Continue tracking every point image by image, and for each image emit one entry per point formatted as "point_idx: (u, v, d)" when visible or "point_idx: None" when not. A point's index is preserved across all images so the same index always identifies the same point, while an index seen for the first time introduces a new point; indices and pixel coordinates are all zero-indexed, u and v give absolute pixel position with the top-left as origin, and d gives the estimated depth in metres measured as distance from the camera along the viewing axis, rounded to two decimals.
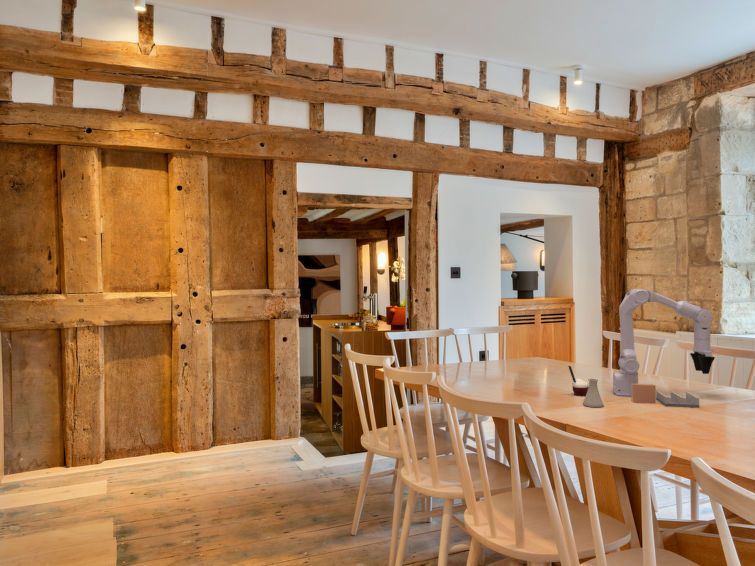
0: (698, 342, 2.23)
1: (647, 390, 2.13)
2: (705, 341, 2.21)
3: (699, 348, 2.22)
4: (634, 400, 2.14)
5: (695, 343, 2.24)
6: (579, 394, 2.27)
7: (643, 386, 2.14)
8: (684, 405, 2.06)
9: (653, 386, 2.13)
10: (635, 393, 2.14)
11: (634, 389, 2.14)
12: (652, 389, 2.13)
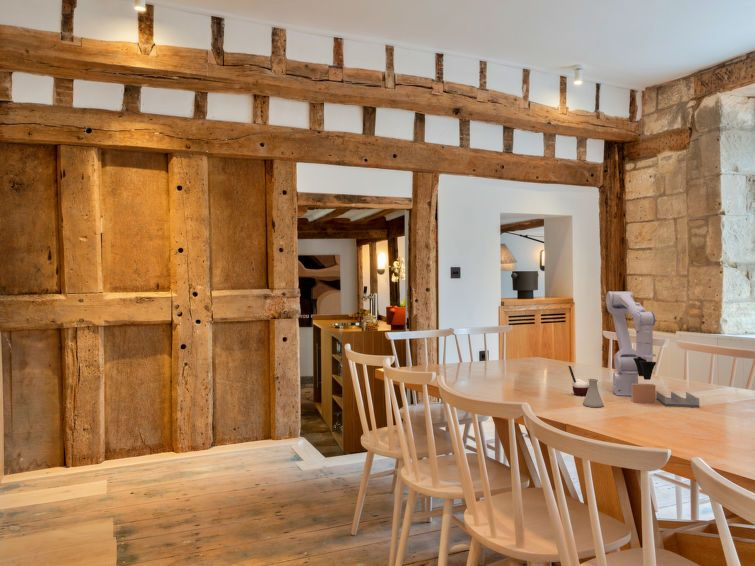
0: (640, 346, 2.14)
1: (647, 390, 2.13)
2: (647, 345, 2.12)
3: (641, 353, 2.13)
4: (634, 400, 2.14)
5: (637, 347, 2.15)
6: (579, 394, 2.27)
7: (643, 386, 2.14)
8: (684, 405, 2.06)
9: (653, 386, 2.13)
10: (635, 393, 2.14)
11: (634, 389, 2.14)
12: (652, 389, 2.13)
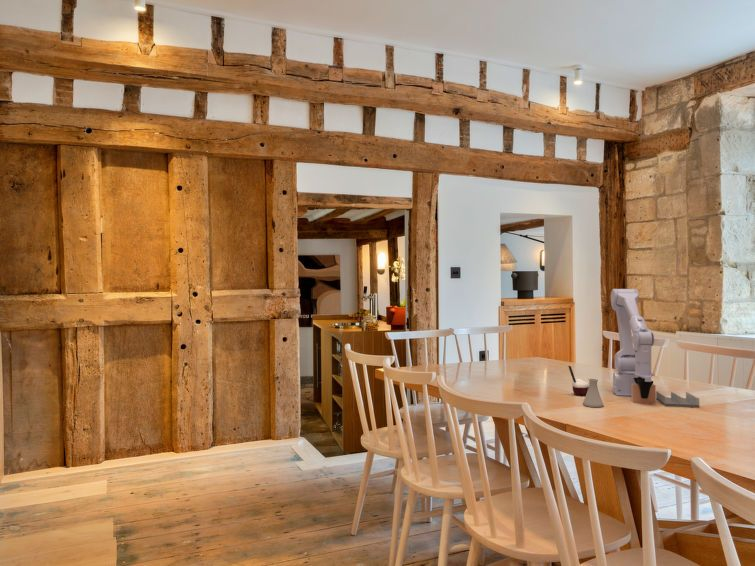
0: (638, 366, 2.13)
1: None
2: (645, 365, 2.12)
3: (639, 372, 2.13)
4: (634, 399, 2.14)
5: (636, 367, 2.15)
6: (579, 394, 2.27)
7: None
8: (684, 405, 2.06)
9: (653, 386, 2.13)
10: (635, 393, 2.14)
11: (634, 389, 2.14)
12: (652, 389, 2.13)
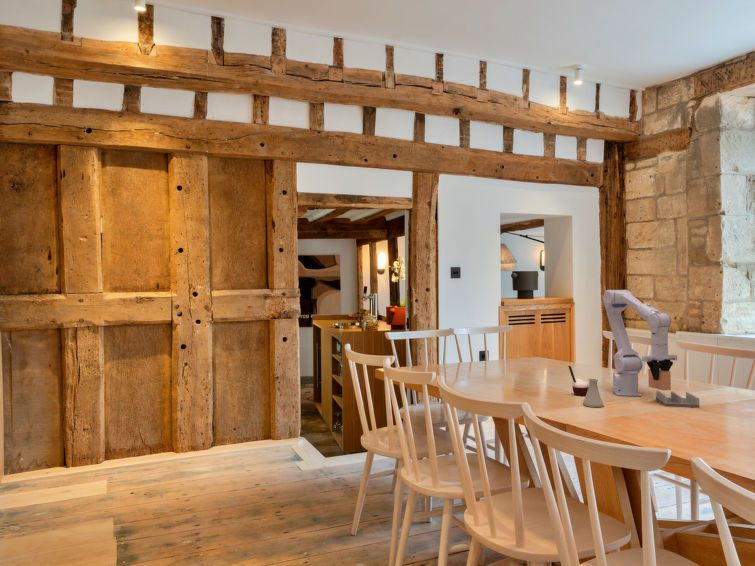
0: (651, 347, 2.15)
1: None
2: (654, 347, 2.13)
3: (651, 353, 2.15)
4: (649, 384, 2.17)
5: None
6: (579, 394, 2.27)
7: None
8: (684, 405, 2.06)
9: (662, 372, 2.10)
10: (649, 377, 2.17)
11: (649, 373, 2.17)
12: (662, 375, 2.11)
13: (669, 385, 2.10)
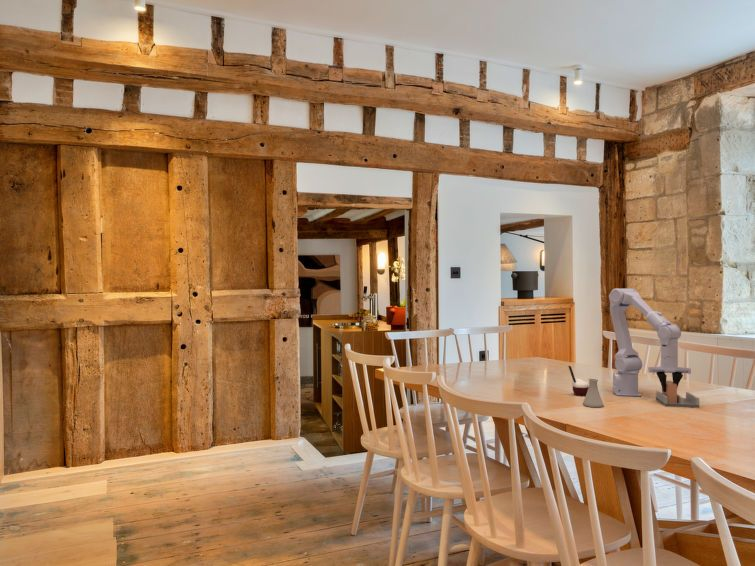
0: None
1: (666, 388, 2.12)
2: (661, 358, 2.13)
3: None
4: None
5: None
6: (579, 394, 2.27)
7: None
8: (684, 405, 2.06)
9: (667, 384, 2.10)
10: None
11: None
12: (667, 387, 2.10)
13: (675, 398, 2.09)
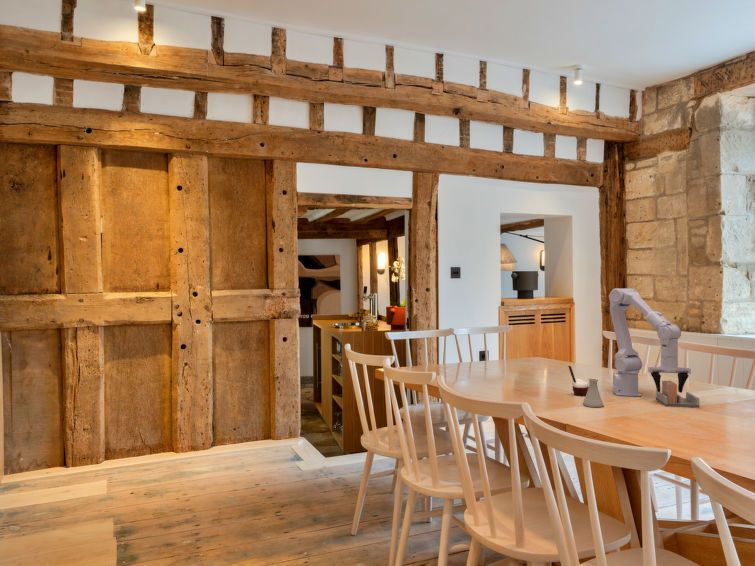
0: None
1: (666, 388, 2.12)
2: (661, 358, 2.13)
3: None
4: None
5: None
6: (579, 394, 2.27)
7: (664, 383, 2.14)
8: (684, 405, 2.06)
9: (667, 384, 2.10)
10: (662, 389, 2.17)
11: (662, 385, 2.17)
12: (667, 387, 2.10)
13: (675, 398, 2.09)
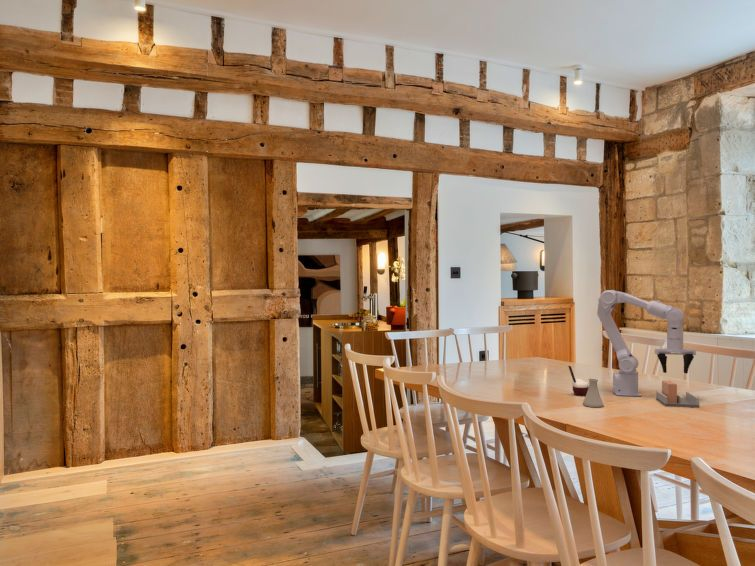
0: None
1: (666, 388, 2.12)
2: (667, 340, 2.21)
3: None
4: None
5: None
6: (579, 394, 2.27)
7: (664, 383, 2.14)
8: (684, 405, 2.06)
9: (667, 384, 2.10)
10: (662, 389, 2.17)
11: (662, 385, 2.17)
12: (667, 387, 2.10)
13: (675, 398, 2.09)
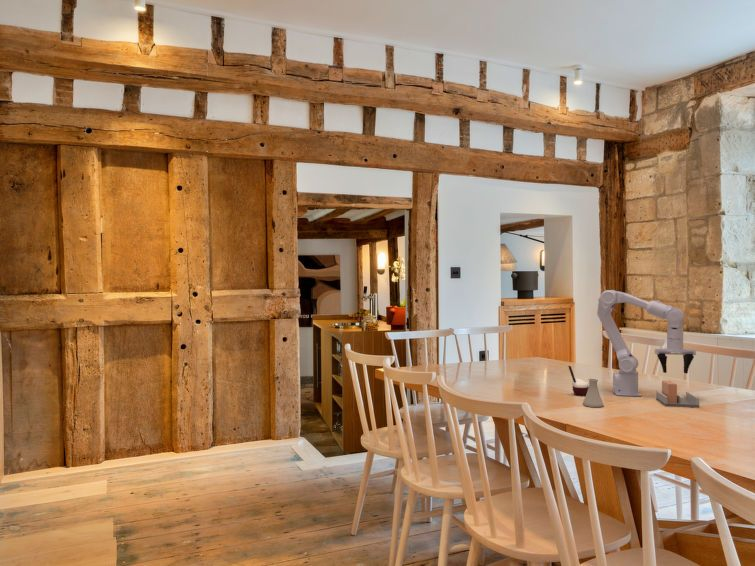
0: None
1: (666, 388, 2.12)
2: (667, 340, 2.21)
3: None
4: None
5: None
6: (579, 394, 2.27)
7: (664, 383, 2.14)
8: (684, 405, 2.06)
9: (667, 384, 2.10)
10: (662, 389, 2.17)
11: (662, 385, 2.17)
12: (667, 387, 2.10)
13: (675, 398, 2.09)
